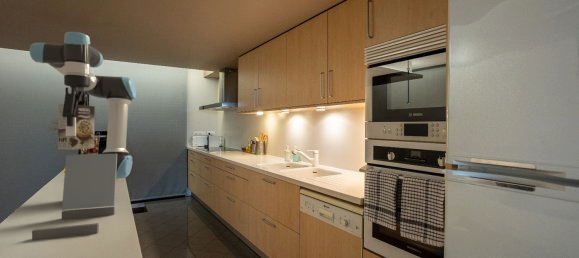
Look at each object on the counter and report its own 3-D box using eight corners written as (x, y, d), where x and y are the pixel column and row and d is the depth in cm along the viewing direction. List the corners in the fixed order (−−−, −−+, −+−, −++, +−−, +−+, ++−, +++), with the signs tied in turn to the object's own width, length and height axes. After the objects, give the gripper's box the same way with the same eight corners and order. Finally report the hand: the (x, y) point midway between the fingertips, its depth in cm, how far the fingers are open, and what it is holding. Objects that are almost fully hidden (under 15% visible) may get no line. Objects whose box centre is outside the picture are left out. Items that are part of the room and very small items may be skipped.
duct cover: (61, 209, 109) (63, 209, 110) (113, 205, 115) (114, 205, 117) (66, 154, 113) (67, 155, 114) (116, 153, 119) (117, 153, 120)
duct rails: (63, 218, 111) (63, 210, 111) (114, 213, 117) (114, 206, 117) (32, 239, 89) (32, 230, 89) (97, 233, 95) (97, 224, 95)
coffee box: (72, 149, 96) (72, 104, 96) (57, 149, 97) (57, 104, 97) (95, 148, 105) (95, 105, 105) (81, 147, 106) (81, 106, 106)
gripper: (77, 79, 111) (77, 134, 111) (49, 68, 89) (49, 136, 89) (99, 81, 113) (98, 134, 113) (77, 70, 92) (77, 136, 92)
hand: (77, 135), depth 101 cm, fingers closed on coffee box, 10 cm apart
